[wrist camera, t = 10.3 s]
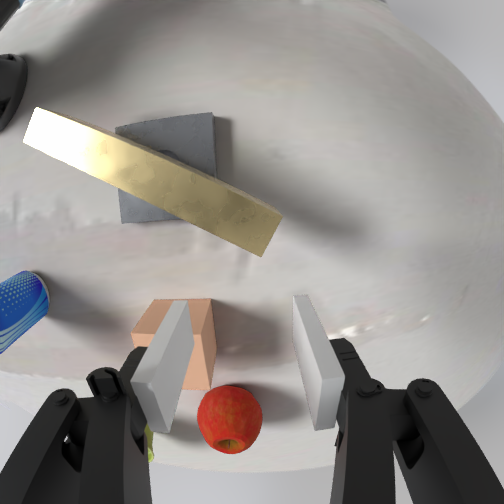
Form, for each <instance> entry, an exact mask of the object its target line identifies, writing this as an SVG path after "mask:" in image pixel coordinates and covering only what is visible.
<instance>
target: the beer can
mask: <svg viewBox="0 0 504 504" xmlns="http://www.w3.org/2000/svg"><path fill="white" fill-rule="evenodd" d="M49 303H50V296H49V292H48V289H47V286H46V284H45V283H44V281H43V280H42V279H41V278H40V277H39V276H38V275H37V274H35V273H32V272H30V271H22V272H20V273H18V274H16V275H14V276H13V277H11V278H9V279H7V280H5V281H4V282H2V283H0V354H1V353H3V352H4V351H5V350H6V349H7V348H8V347H9V346H10V345H11V344H12V343H14V342H15V341H16V340H17V339H18V338H19V337H20V336H22V335H23V334H24V333H25V332H26V331H27V330H29V329H30V328H31V327H32V326H33V325H34V324H36V323H37V322H38V321H39V320H40V319H42V318H43V317H44V316H45V315H46V314H47V312H48V309H49Z"/></svg>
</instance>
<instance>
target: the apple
mask: <svg viewBox="0 0 504 504" xmlns="http://www.w3.org/2000/svg"><path fill="white" fill-rule="evenodd" d="M197 421H198V425H199V428H200V431H201V433H202V434H203V436H204V438H205V440H206V442H207V443H208V444H209V445H210V447H212V448H214V449H215V450H218V451H220V452H223V453H226V454H236V453H240V452H242V451H244V450H246V449H248V448H249V447H250V446H251V445H252V444H253V443H254V441H255V440H256V438H257V437H258V435H259V433H260V429H261V425H262V410H261V407H260V405H259V404H258V402H257V401H256V399H255V398H254V397H253V395H252V394H251V393H250V392H248V391H246V390H245V389H243V388H239V387H234V386H220V387H217V388H214V389H212V390H210V391H209V392H207V393H206V394H205V396H204V397H203V399H202V401H201V403H200V405H199V408H198V413H197Z"/></svg>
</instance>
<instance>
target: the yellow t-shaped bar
mask: <svg viewBox="0 0 504 504" xmlns="http://www.w3.org/2000/svg"><path fill="white" fill-rule="evenodd" d="M24 142H25V143H27V144H29V145H31V146H33V147H35V148H37V149H39V150H41V151H44V152H46V153H48V154H50V155H52V156H54V157H56V158H58V159H60V160H62V161H64V162H66V163H68V164H70V165H72V166H74V167H76V168H78V169H80V170H82V171H85V172H87V173H89V174H91V175H93V176H95V177H97V178H99V179H101V180H103V181H105V182H107V183H109V184H111V185H113V186H115V187H117V188H119V189H121V190H124V191H126V192H128V193H130V194H132V195H134V196H136V197H138V198H140V199H142V200H144V201H146V202H148V203H150V204H152V205H154V206H156V207H158V208H161V209H163V210H165V211H167V212H169V213H171V214H173V215H175V216H177V217H179V218H181V219H183V220H185V221H187V222H189V223H191V224H193V225H196V226H198V227H200V228H202V229H204V230H206V231H208V232H210V233H212V234H214V235H216V236H218V237H220V238H222V239H224V240H226V241H228V242H230V243H233V244H235V245H237V246H239V247H241V248H243V249H245V250H247V251H249V252H251V253H253V254H255V255H257V256H259V257H262V255H263V253H264V251H265V249H266V247H267V246H268V244H269V242H270V240H271V238H272V236H273V234H274V232H275V231H276V229H277V227H278V225H279V223H280V221H281V219H282V217H283V216H282V215H281V214H280V213H279V211H278V210H277V209H276V208H275V207H273V206H271V205H269V204H267V203H265V202H263V201H261V200H259V199H257V198H255V197H253V196H251V195H249V194H247V193H245V192H243V191H241V190H239V189H237V188H235V187H233V186H231V185H229V184H227V183H225V182H223V181H221V180H219V179H216V178H214V177H212V176H210V175H208V174H206V173H204V172H202V171H199V170H197V169H195V168H193V167H191V166H189V165H186V164H184V163H182V162H180V161H178V160H175V159H173V158H171V157H169V156H167V155H164V154H162V153H160V152H157V151H155V150H153V149H151V148H148V147H146V146H144V145H141V144H139V143H137V142H134V141H132V140H129V139H127V138H125V137H122V136H120V135H117V134H115V133H112V132H110V131H107V130H105V129H103V128H100V127H97V126H95V125H92V124H90V123H87V122H85V121H82V120H79V119H77V118H74V117H71V116H69V115H65V114H61V113H57V112H53V111H49V110H45V109H41V108H36V109H35V111H34V114H33V116H32V119H31V122H30V124H29V127H28V130H27V133H26V136H25V138H24Z"/></svg>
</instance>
